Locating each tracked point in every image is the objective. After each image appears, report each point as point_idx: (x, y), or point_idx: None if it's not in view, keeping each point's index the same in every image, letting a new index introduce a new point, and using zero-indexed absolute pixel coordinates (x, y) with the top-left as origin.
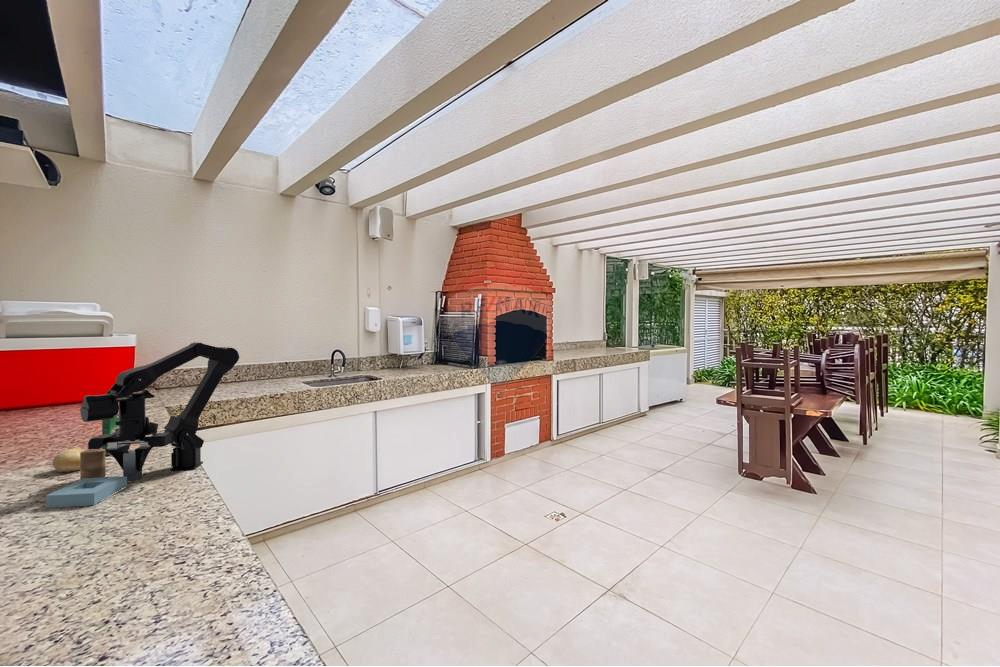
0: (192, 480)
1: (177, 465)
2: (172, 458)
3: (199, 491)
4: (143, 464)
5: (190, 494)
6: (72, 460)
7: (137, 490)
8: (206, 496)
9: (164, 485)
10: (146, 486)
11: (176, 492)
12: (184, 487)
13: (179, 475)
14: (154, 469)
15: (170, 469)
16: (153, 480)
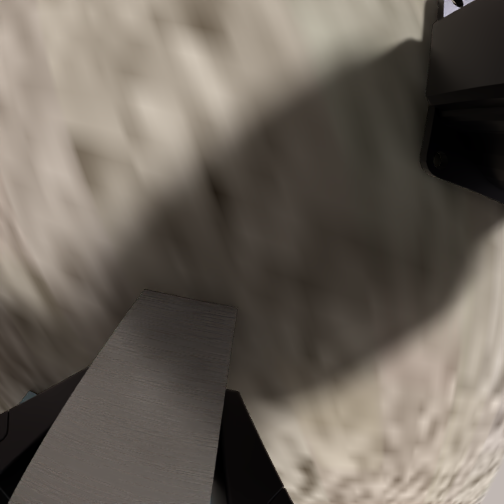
0: (500, 406)
1: (490, 168)
2: (490, 104)
3: (477, 481)
4: (254, 430)
5: (453, 497)
6: None
7: (293, 483)
8: (475, 498)
9: (399, 453)
10: (321, 456)
11: (427, 493)
12: (457, 465)
13: (477, 320)
14: (252, 45)
15: (430, 175)
16: (340, 385)
